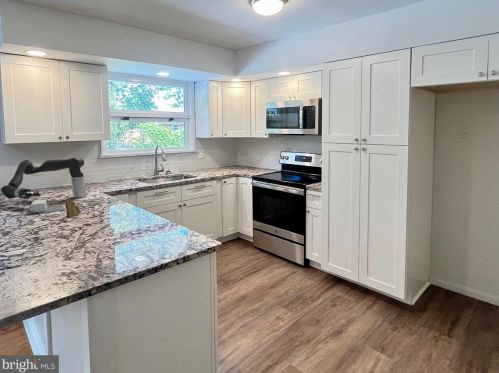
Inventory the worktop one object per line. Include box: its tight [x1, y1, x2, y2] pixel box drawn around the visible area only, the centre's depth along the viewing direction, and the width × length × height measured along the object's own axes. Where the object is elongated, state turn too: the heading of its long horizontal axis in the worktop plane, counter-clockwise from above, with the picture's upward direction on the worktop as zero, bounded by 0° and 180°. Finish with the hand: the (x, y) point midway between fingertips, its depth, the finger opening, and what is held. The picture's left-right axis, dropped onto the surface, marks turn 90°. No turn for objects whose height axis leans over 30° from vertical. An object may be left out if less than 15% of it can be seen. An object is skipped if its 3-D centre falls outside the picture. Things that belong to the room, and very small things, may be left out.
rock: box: [64, 200, 81, 218], centre depth 220 cm, size 11×9×10 cm
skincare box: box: [30, 199, 48, 213], centre depth 233 cm, size 8×6×15 cm
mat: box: [36, 205, 66, 215], centre depth 235 cm, size 16×15×1 cm
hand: (39, 194), depth 240 cm, fingers closed
